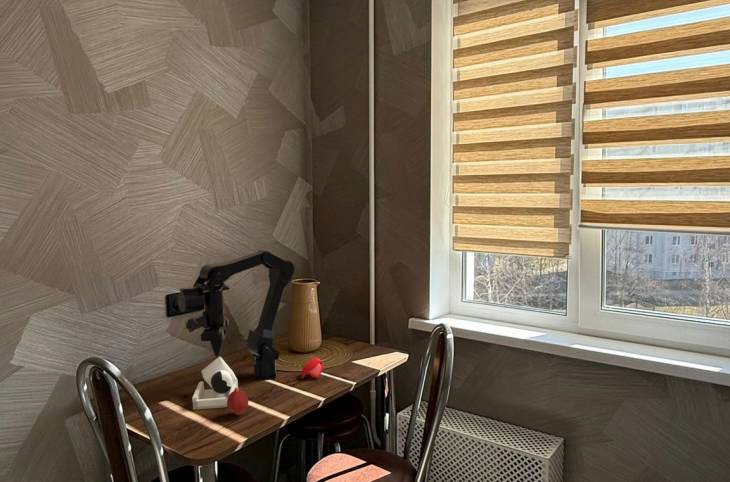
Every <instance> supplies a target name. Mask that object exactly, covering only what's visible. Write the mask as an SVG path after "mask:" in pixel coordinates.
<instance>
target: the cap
mask: <svg viewBox="0 0 730 482" xmlns="http://www.w3.org/2000/svg"><path fill="white" fill-rule="evenodd" d="M323 370H324V363H323V361H322V360H321V359H320V358H318V357H314V358H311V359H309V360H308V361H307V362H305V364H304V365H303V366H302V369H301V373H302V375H301V379H304V378H305V377H306V375H310V376H311V377H313V378H315V379H317V380H318V379H319V378H320V376H321V374H322V372H323Z"/></svg>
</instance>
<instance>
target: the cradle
mask: <svg viewBox="0 0 730 482" xmlns="http://www.w3.org/2000/svg"><path fill="white" fill-rule="evenodd" d="M204 381H205V380H204ZM204 381H199V382H198V384H197V387H196V388H195V391H194V394H193V395H192V410H195V411H196V410H197V411H198V410H206V409H218V408H219V409H221V408H222V409H223V408H228V407H227V399H228V396H229V395H230V394H231V393H232V392H233V391H234V389H235V388H239V386H238V385H239V382H238V379H237V380H236V381H234V382H233V385H232V387H231V389H230V390H229V391H228V392H226V393H220V394H217V393H216V392H215V391H214V390H213V389H212V388H211V389H205V385H204V384H205V383H204Z"/></svg>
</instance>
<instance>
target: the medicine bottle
mask: <svg viewBox="0 0 730 482" xmlns="http://www.w3.org/2000/svg"><path fill="white" fill-rule="evenodd" d="M201 375H202V378H203V379H204V381H205V382H206V383H207V384H208V385H209V386H210V387H211V389H213V390H214V391H215V392H216V393H217V394H220V393H226V392H228V391H229V390H230V389H231V387H232V385H233V382H234V381H236V380H237V381H238V378H237V377H236V375H235V373H234V371H233V370H232V369H231V367H229V365H228V364H227V363H226V362H225V360H224V359H223V358H222V356H217V358H216V359H214V360H213V361H212V362H211V363H209V364H208V365H207V366H205V368H203V369H202V370H201Z"/></svg>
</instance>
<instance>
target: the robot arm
mask: <svg viewBox="0 0 730 482" xmlns="http://www.w3.org/2000/svg"><path fill="white" fill-rule="evenodd" d="M261 265H263V267H265V268H266V269H268V279H269V287H268V289H267V294H266V297H265V299H264V303H263V307H262V310H261V313H260V317H259V321H258V324H257V326H256V327H255V329H254V330H251V329H250V330H249V332H248V337H247V338H246V340H245V343H246V349H247V351H248V352H250V354H251V356H252V357H253V358H255V361H254V362H253V363H254V364H253V368H254V369H253V370H254V377H255V380H257V381H258V380H270V379H271V380H273V379H277V373H278V372H277V366H276V365H277V364H276V360H279V357H280V351H278V350H277V349H275V348H274V347H273V345H274V335H273V334H274V333H273V328H274V324H275V322H276V318H277V315H278V311H279V307H280V305H281V301H282V297H283V294H284V291H285V288H286V287H287V286H288V284H289V283H290V282H291V280H292V278H293V276H294V274H295V273H296V267H295V264H294V263H293V262H292V261H290V260H285V259H283V258H280V257H278V256H277V255H275V254H273V253H272V252H270V251H268V250H262V249H261V250H257V251H255V252H252V253H250V254H247V255H245V256H241V257H238V258H235V259H232V260H230V261H225V262H217V263H215V262H213V263H209V264H205V265H203V266H202V267H200V270H199V275H198V276H197V278H196V280H195V282H194V283H193V285H192V286H191V287H182V288H179V293H178V295H177V306H178V308H179V311H181V312H183V313H184V312H189V311H195V310H199V309H202V308H204V309H203V311H202V314H199V315H196V316H194V317H191V318H188V319H187V321H185V323H184V324H185V328H186V330H188V332H189V333H193V332H194V331H196V330H198V329H200V328H202V329H203V331H202V332H201V333H200V341H201V342H210V345H211V348H212V351H213V354H214V356H215V357H220V352H221V350H222V347H223V344H224V340H225V338H226V334H227V330H226V329H224V327H226V328H227V327H229V325H230V321H229V318H228V317H227V316H225V310H226V309H225V305H224V291H227V290H228V291H229V290H230V287H229V286H227V284H226V283H224V282H226V281H228V280H229V279H230V278H231V277H232V276H234V275H236V274H239V273H242V272H244V271H247V270H249V269H252V268H256V267H258V266H259V267H260V266H261Z"/></svg>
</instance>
